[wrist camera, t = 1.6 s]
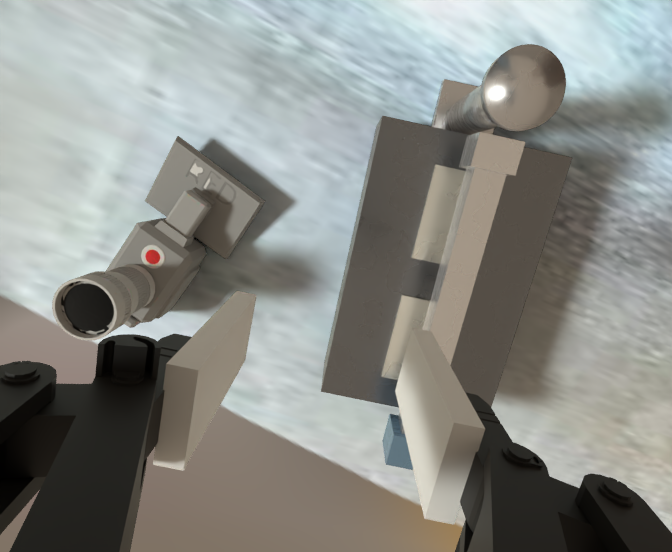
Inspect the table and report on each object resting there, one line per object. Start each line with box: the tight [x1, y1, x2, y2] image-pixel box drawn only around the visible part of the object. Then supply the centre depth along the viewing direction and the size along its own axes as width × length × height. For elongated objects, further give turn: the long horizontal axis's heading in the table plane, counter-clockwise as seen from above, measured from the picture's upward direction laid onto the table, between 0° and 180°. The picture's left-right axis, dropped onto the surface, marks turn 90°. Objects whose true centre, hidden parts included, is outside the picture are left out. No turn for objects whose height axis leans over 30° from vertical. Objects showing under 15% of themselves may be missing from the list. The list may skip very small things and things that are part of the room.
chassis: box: [321, 116, 572, 407], centre depth 36 cm, size 22×14×6 cm, turn 168°
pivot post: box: [431, 44, 566, 135], centre depth 30 cm, size 5×5×13 cm
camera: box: [52, 136, 265, 341], centre depth 33 cm, size 9×12×15 cm
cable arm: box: [383, 132, 525, 470], centre depth 29 cm, size 23×3×3 cm, turn 168°
